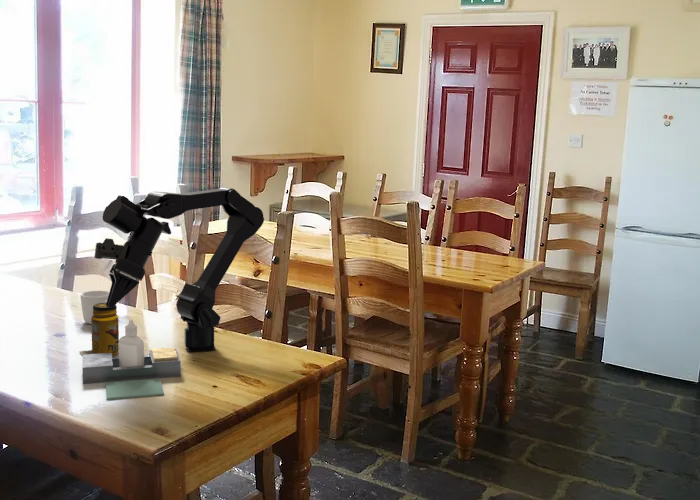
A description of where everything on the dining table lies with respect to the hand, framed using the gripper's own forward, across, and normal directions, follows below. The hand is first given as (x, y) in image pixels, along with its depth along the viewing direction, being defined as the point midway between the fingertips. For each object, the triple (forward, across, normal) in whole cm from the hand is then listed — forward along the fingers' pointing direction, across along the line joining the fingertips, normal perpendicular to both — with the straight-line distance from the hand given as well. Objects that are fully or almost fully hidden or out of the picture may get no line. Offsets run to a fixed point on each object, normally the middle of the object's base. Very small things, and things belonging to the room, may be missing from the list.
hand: (109, 306), depth 159 cm
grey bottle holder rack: (+11, +1, +11) cm, 15 cm away
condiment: (+10, -14, +4) cm, 18 cm away
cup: (+4, -41, +2) cm, 42 cm away
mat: (+14, +11, +12) cm, 21 cm away
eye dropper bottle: (+11, 0, +11) cm, 16 cm away
